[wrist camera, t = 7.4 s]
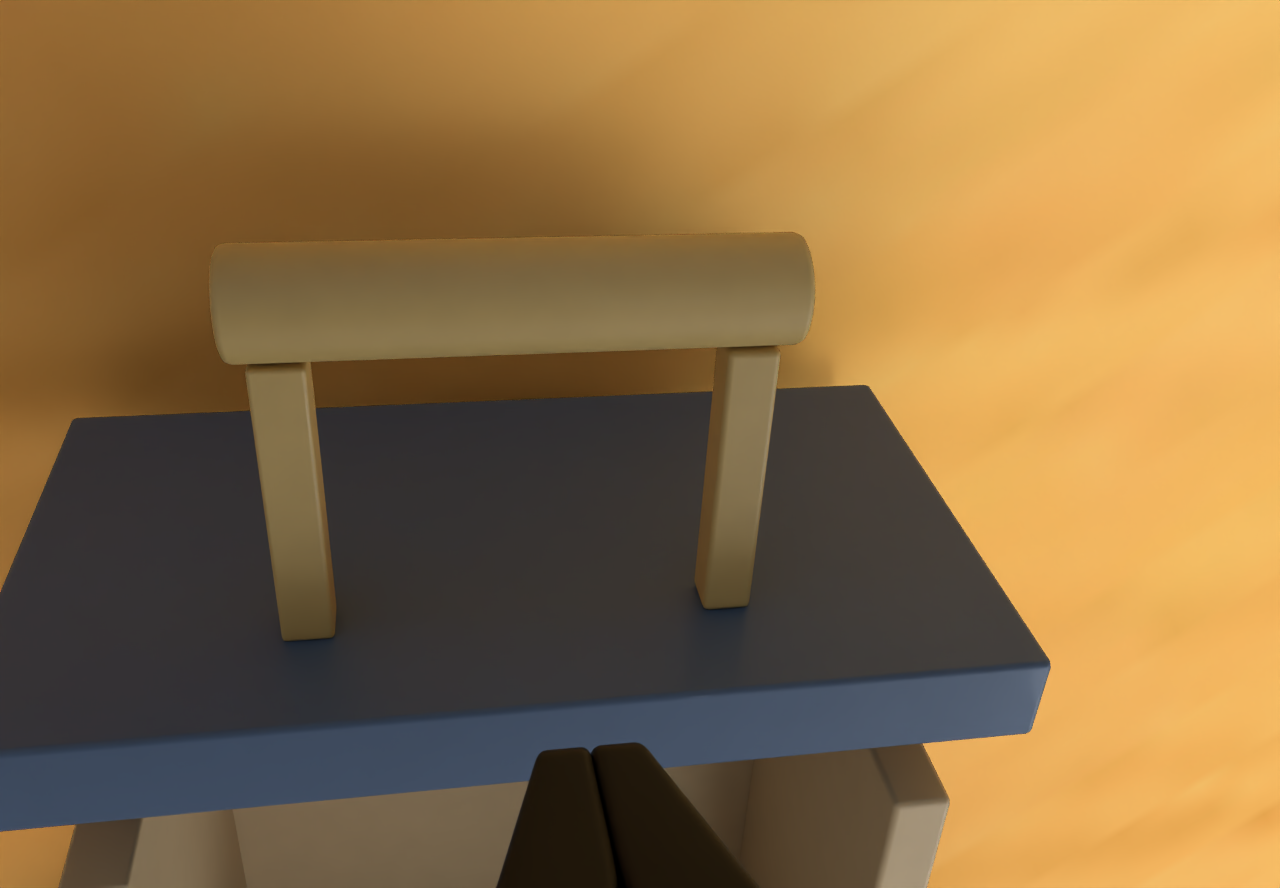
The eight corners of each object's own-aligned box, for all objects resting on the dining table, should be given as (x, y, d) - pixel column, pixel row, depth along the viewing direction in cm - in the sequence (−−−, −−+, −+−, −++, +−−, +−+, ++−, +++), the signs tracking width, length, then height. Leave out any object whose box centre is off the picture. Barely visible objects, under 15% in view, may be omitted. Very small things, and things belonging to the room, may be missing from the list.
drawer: (-4, 92, 15) (-230, 341, 10) (918, 93, 18) (1169, 297, 12) (200, 974, 25) (145, 1352, 20) (777, 906, 27) (878, 1230, 22)
